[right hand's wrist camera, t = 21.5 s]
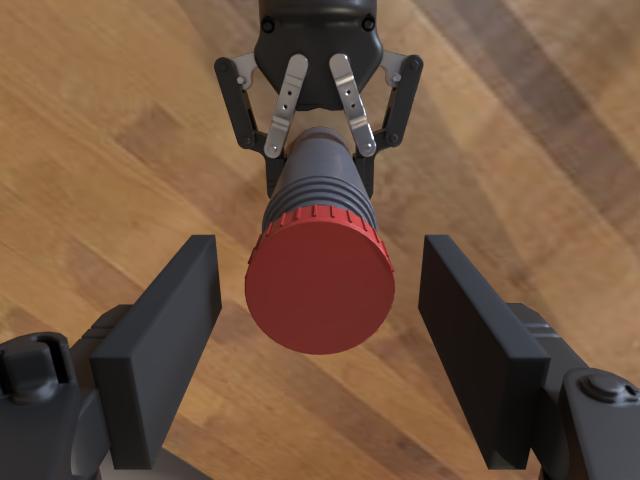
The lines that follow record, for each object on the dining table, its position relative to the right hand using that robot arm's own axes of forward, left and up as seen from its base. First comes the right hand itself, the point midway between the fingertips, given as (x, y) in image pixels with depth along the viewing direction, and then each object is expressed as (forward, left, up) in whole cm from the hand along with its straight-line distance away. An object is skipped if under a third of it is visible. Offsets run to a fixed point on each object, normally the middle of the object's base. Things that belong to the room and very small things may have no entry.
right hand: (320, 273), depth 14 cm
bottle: (0, 0, -24) cm, 24 cm away
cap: (0, 0, +1) cm, 1 cm away
